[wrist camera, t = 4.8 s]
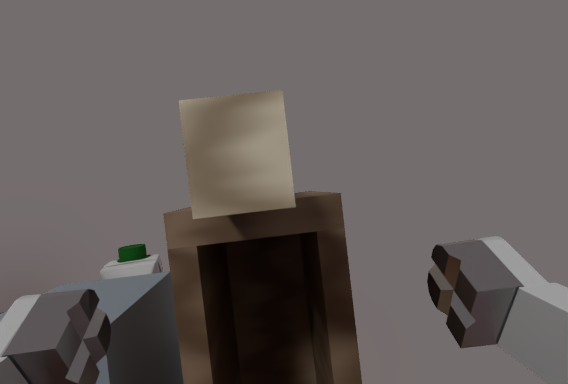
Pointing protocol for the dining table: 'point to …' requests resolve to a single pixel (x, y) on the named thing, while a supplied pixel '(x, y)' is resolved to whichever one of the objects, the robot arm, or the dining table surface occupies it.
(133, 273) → the milk carton
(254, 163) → the light wooden bar
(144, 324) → the blue-grey box
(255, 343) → the shelf high
